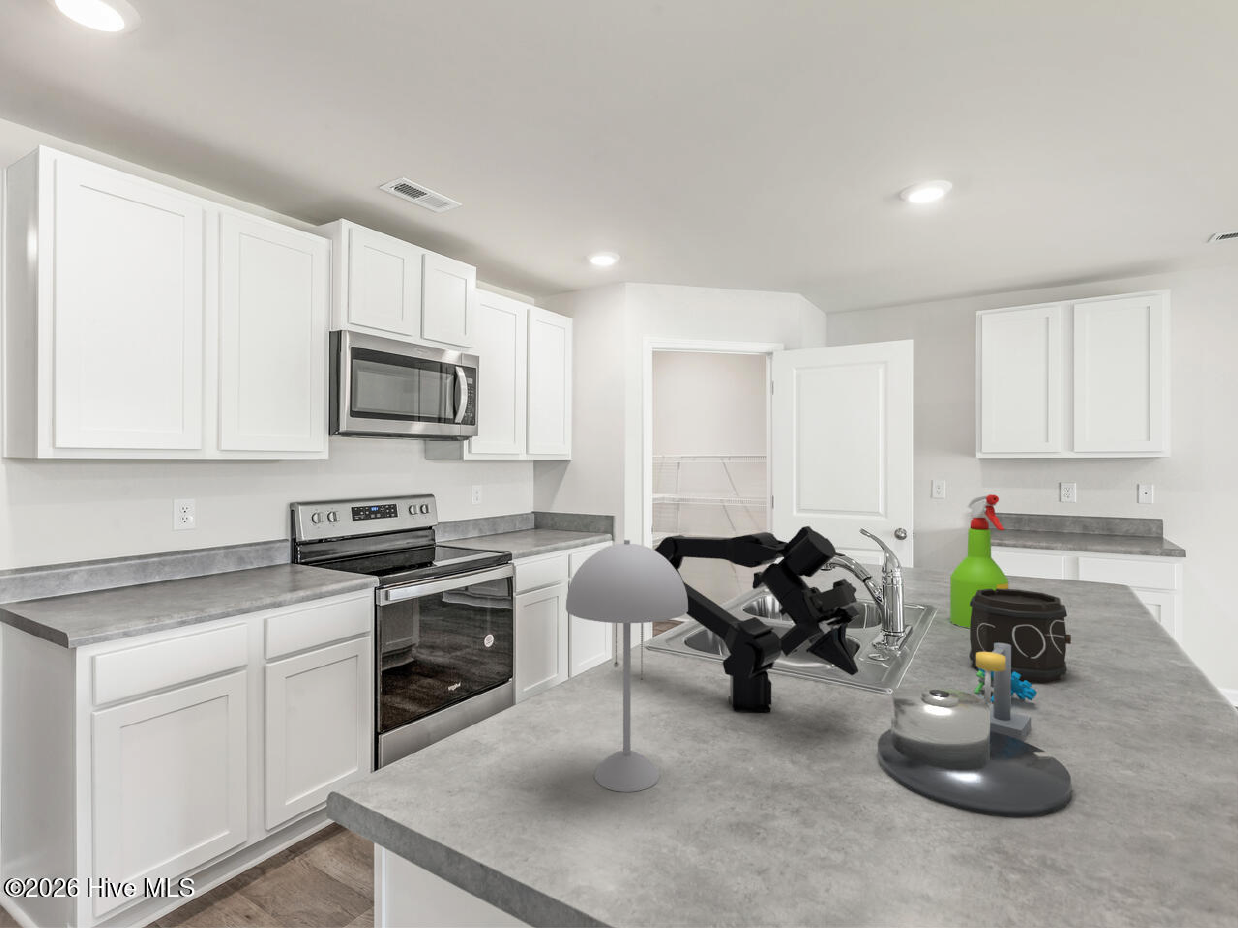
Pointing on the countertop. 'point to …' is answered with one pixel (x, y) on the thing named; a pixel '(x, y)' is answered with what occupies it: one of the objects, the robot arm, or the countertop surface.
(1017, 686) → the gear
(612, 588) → the lamp
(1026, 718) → the gauge stand
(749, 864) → the countertop surface
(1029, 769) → the turntable
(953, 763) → the cover
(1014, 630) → the wooden barrel
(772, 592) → the robot arm
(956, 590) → the spray bottle
